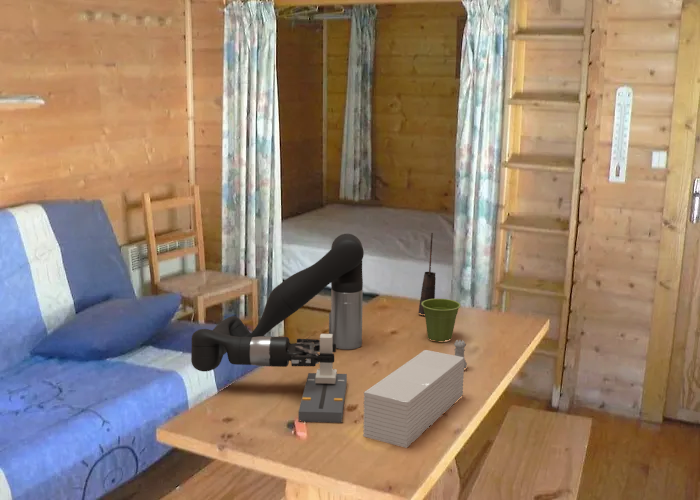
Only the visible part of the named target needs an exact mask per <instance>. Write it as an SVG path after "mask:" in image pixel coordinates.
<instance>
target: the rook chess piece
mask: <svg viewBox="0 0 700 500" xmlns="http://www.w3.org/2000/svg"><path fill="white" fill-rule="evenodd" d="M453 346H454V347H455V348H454V355H455V356H460V357H464V361H463V362H464V368H466V367H467V366H468V363H467V362H466V358H465V351H466V350H465V347H466V346H467V344H466V343H465V340H463V339H459V340H458V339H456V340H455V341H454V343H453ZM464 368H463V369H464Z"/></svg>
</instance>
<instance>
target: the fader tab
mask: <svg viewBox="0 0 700 500" xmlns="http://www.w3.org/2000/svg"><path fill="white" fill-rule="evenodd" d="M319 340H320V352H319V354H320V353H333V354H334V352H333V334H329V333H320V336H319ZM333 363H334V362H333ZM333 363H320V362H319V368H317V369H316V372H315V373H316V377H315V383H328V384H335V382H336V376H337V374H338V371H337V370H338V369H336V368H334V369H333V365H334V364H333Z"/></svg>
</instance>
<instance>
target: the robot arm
mask: <svg viewBox="0 0 700 500" xmlns="http://www.w3.org/2000/svg"><path fill="white" fill-rule="evenodd" d="M331 243H332V244H331V246H330V247H331V248H330V250H328V252H327V253H326V254H325V255H324V256H322V257H321V258H320V259H319V260H317V261H316V262H315V263H314V264H312V265H310V266H308V267H306V268H303V269H301V270H300V271H297V272H295V273H294V274H292V275H290V276H289V277H287V278H286V279H285V280H283V281H282V282H280V284H278V285H277V286H275V287H274V288H273V289H272V291H271V292H270V293H269V296H268V298H267V301H266V304H265V307H264V310H263V313H262V315H261V317H260V319H259V322H258V323H257V325H256V326H255V328H254V329H253V330H252V332H250V331H249V329H248V328H247V327H246V325H245V324H244V323H243V321H242V319H240V318H239V317H238V316H236V315H231V316H228V317H227V318H225V319H224V320H222V321H221V322H219V323H218V324H217V325H216V326H215V327H214V328H213V329H209V328H208V329H207V328H200V329H198V330H196V331H194V332H193V334H192V335H191V351H190V352H191V354H190V355H191V357H190V358H191V359H190V361H191V365H192V366H193V368H194V369H195V370H197V371H199V372H211V371H213V370H215V369H216V368H218V367H219V366H220V365H221V363H222V360H223V357H224V355H226V354H227V359H228V362H229V363H230V364H231V365H236V366H237V365H241V366H258V367H275V368H276V367H281V368H282V367H283V368H287V367H288V366H289V363H291V364H290V365H291V367H317V365H318V364H320V363H334V362H335V354H334V353H336V352H337V349H340V350H354V349H358V348H361V347H362V346H363V293H364V292H363V289H364V288H363V287H364V285H363V284H364V282H363V259H364V247H363V243H362V241H361V240H360V238H358V237H357V236H356V235H354V234H352V233H342V234H340V235H338V236H337V237H336V238H334V240H333V241H332V242H331ZM329 285H331V286H330V288H331V289H330V290H331V292H330V293H331V301H330V302H331V303H330V304H331V305H330V307H331V309H330V311H329V313H328V334H333V353H320V339H313V338H297V339H296V343H291V342H290V338H289V337H288V336H265V335H266V334H267V333H269V332H270V331H271V330H272V329H274V328H275V327H276V326H277V325H278V326H279V324H280V323H282V322H283V321H285V320H286V319H287V318H289V317H290V316H292V315H293V314H294V313H295V312H297V311H298V310H300V309H301V308H302V307H304V306H305V305H307V304H308V303H309V302H310V301H312V299H314V298H315V297H316V296H317V295H318V294H320V293H321V292H322V291H323V290H324V289H325V288H326V287H327V286H329Z"/></svg>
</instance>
